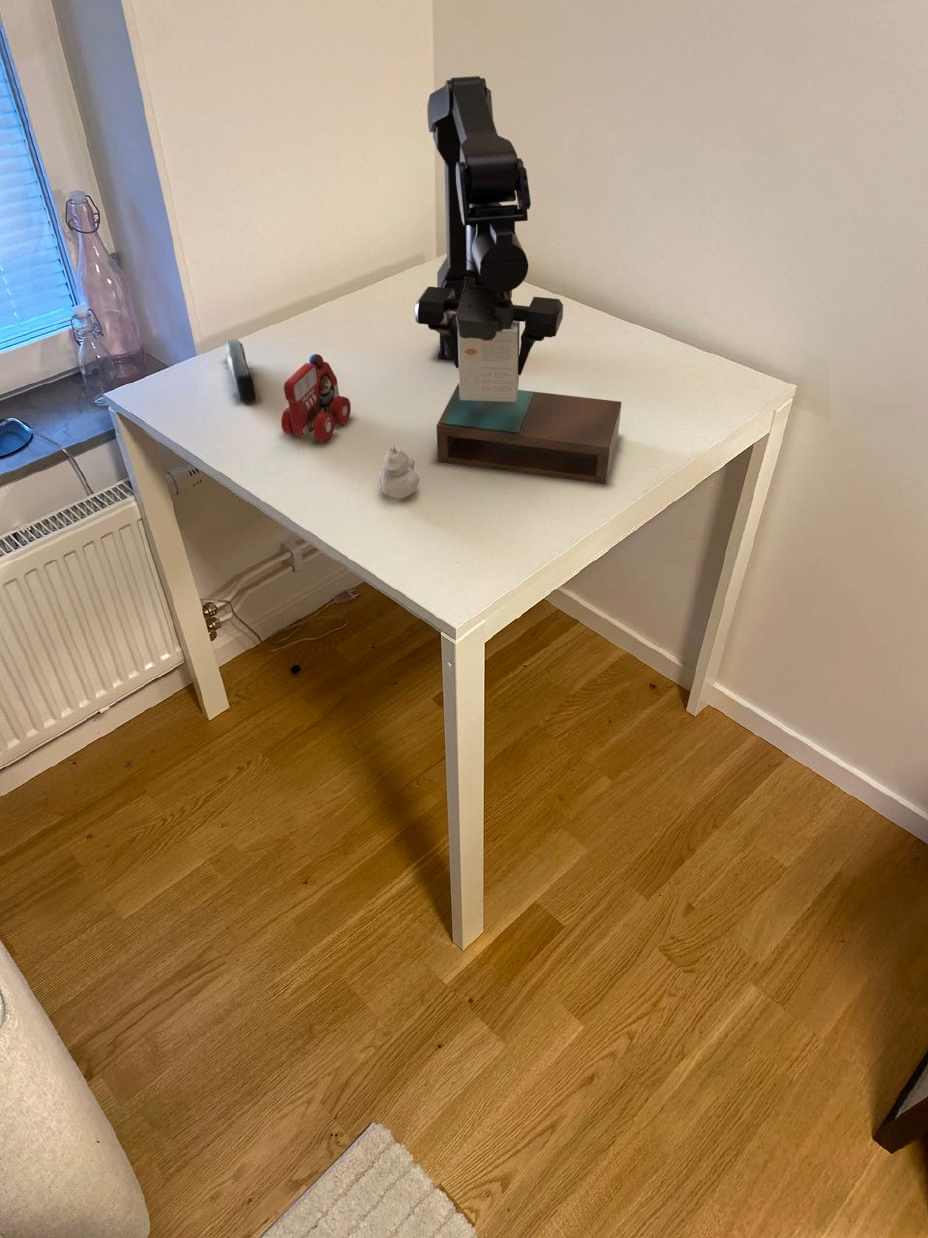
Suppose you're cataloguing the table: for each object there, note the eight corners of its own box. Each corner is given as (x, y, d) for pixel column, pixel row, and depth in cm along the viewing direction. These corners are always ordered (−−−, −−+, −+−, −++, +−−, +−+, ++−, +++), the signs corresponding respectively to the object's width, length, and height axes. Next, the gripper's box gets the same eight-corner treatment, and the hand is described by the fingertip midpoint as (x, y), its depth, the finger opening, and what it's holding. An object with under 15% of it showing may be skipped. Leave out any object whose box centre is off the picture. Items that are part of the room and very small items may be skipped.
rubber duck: (371, 499, 127) (366, 449, 121) (395, 473, 131) (391, 424, 125) (406, 509, 125) (403, 458, 119) (429, 483, 129) (427, 433, 124)
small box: (519, 382, 132) (521, 311, 125) (516, 403, 128) (518, 331, 121) (462, 380, 132) (461, 309, 125) (458, 400, 128) (457, 329, 121)
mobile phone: (254, 374, 142) (237, 329, 152) (235, 378, 142) (218, 332, 152) (260, 402, 146) (242, 357, 156) (240, 406, 145) (224, 360, 155)
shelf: (437, 461, 133) (436, 424, 129) (459, 418, 141) (458, 381, 137) (605, 484, 128) (610, 445, 124) (617, 437, 137) (621, 400, 132)
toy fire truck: (358, 410, 143) (351, 347, 136) (318, 452, 135) (309, 388, 128) (318, 402, 145) (309, 339, 138) (277, 443, 137) (265, 379, 130)
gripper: (399, 277, 113) (406, 392, 124) (550, 292, 110) (544, 408, 121) (424, 241, 121) (429, 352, 132) (567, 254, 117) (560, 366, 128)
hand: (488, 370), depth 128 cm, fingers closed on small box, 8 cm apart
